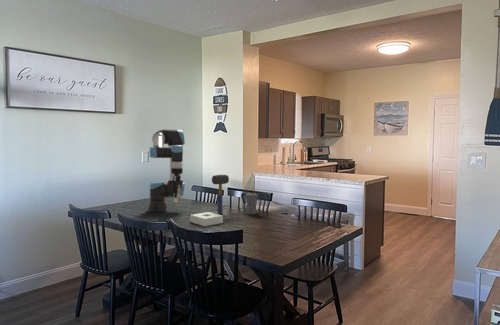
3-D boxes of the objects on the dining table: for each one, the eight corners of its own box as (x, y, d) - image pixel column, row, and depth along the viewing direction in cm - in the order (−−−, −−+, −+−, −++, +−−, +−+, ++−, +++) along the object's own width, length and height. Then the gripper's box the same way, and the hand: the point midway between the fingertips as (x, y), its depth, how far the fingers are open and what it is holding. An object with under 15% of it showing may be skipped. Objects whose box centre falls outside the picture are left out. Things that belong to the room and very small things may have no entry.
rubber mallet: (215, 214, 282) (216, 175, 280) (210, 213, 288) (211, 174, 285) (229, 212, 290) (229, 174, 287) (223, 211, 295) (224, 173, 293)
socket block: (190, 221, 257) (190, 214, 256) (208, 218, 268) (209, 211, 267) (204, 226, 245) (204, 218, 245) (222, 222, 256) (223, 215, 256)
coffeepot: (261, 213, 291) (261, 190, 290) (256, 215, 283) (256, 192, 281) (243, 211, 298) (244, 188, 296) (238, 213, 289) (238, 190, 288)
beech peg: (172, 205, 254) (172, 185, 253) (177, 204, 257) (177, 184, 256) (175, 206, 251) (175, 185, 250) (181, 205, 254) (181, 185, 253)
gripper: (179, 169, 243) (179, 204, 245) (185, 166, 260) (184, 199, 262) (168, 168, 243) (168, 203, 245) (174, 166, 261) (174, 199, 263)
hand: (176, 201), depth 254 cm, fingers closed on beech peg, 4 cm apart
